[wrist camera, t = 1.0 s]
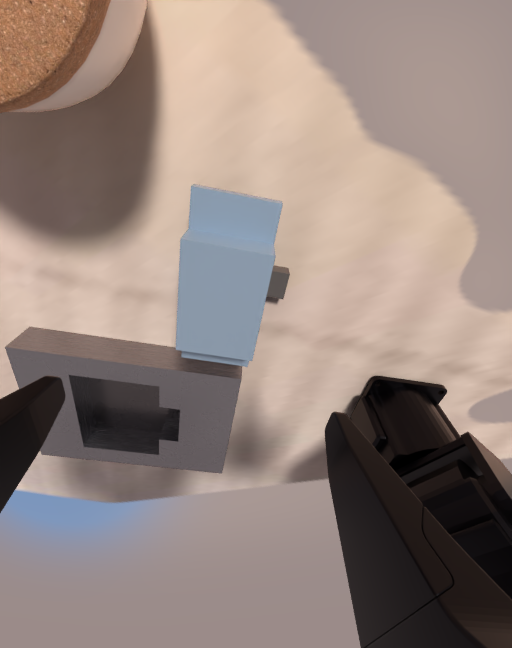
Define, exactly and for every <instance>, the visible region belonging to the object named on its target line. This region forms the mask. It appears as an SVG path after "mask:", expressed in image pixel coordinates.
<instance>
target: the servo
mask: <svg viewBox="0 0 512 648" xmlns="http://www.w3.org/2000/svg"><path fill="white" fill-rule="evenodd" d="M281 209H282V201H277V200H272V199H267V198H262V197H257V196H252V195H247V194H242V193H237V192H232V191H226V190H221V189H216V188H211V187H206V186H201V185H196V184H193V185H192V186H191V198H190V215H189V229H188V230H187V231H186V233H185V234H184V235H183V236H182V238H181V241H180V264H179V287H178V310H177V333H176V350H180V351H182V354H181V357H184V358H190V359H197V360H204V361H211V362H218V363H225V364H232V365H239V366H245V367H248V362H249V361H252V359H253V355H254V350H255V346H256V341H257V337H258V332H259V328H260V323H261V319H262V314H263V310H264V305H265V301H266V296H267V297H273V298H279V299H283V298H284V294H285V290H286V286H287V283H288V279H289V275H290V273H289V269H288V268H285V267H279V266H273V265H274V260H275V249H274V241H275V237H276V232H277V228H278V223H279V218H280V214H281Z"/></svg>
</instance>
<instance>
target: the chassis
mask: <svg viewBox="0 0 512 648" xmlns="http://www.w3.org/2000/svg"><path fill="white" fill-rule="evenodd" d="M5 349H6V352H7V355H8V357H9V360H10V363H11V366H12V369H13V372H14V375H15V378H16V381H17V384H18V387H19V389H21V388H22V387H24V386H26V385H28V384H30V383H32V382H34V381H36V380H38V379H40V378H42V377H44V376H47V375H49V376H57V377H60V378H61V379H62V382H63V386H64V390H65V395H66V396H65V401H64V404H63V406H62V408H61V410H60V412H59V414H58V416H57V418H56V420H55V422H54V424H53V426H52V428H51V430H50V432H49V434H48V436H47V438H46V440H45V442H44V444H43V446H42V447H41V449H40V451H41V454H42V455H51V456H61V457H70V458H80V459H89V460H99V461H108V462H118V463H127V464H137V465H146V466H156V467H166V468H175V469H185V470H194V471H204V472H213V473H222V470H223V465H224V461H225V456H226V451H227V446H228V441H229V436H230V432H231V427H232V422H233V417H234V412H235V407H236V403H237V398H238V393H239V388H240V383H241V376H242V366H239V365H232V364H225V363H218V362H211V361H204V360H197V359H190V358H184V357H181V354H182V351H180V350H176V348H174V347H167V346H160V345H153V344H146V343H139V342H132V341H125V340H118V339H111V338H104V337H97V336H90V335H83V334H76V333H69V332H62V331H55V330H48V329H41V328H34V327H29V328H28V329H26V330H25V331H24V332H23V333H21V334H20V335H19V336H18V337H17V338H15V339H14V340H13V341H12V342H11V343H9V344H8V345H7V346H6V347H5Z"/></svg>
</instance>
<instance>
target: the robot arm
mask: <svg viewBox="0 0 512 648" xmlns="http://www.w3.org/2000/svg"><path fill="white" fill-rule="evenodd" d="M376 382H377V383H376ZM446 393H447V390H446V388H445V387H444V386H443V385H439V384H432V383H425V382H418V381H411V380H404V379H397V378H390V377H383V376H375V377H373V378H372V379H371V380H370V382H369V384H368V386H367V388H366V390H365V392H364V394H363V396H362V397H361V398H360V400H359V402H358V404H357V406H356V408H355V410H354V411H353V413H352V415H351V419H350V418H349V417H348V416H347V415H346V414H345V413H340V412H333V413H332V414H331V416H330V418H329V421H328V423H327V425H326V428H325V442H326V454H327V466H328V477H329V483H330V488H331V493H332V499H333V504H334V509H335V514H336V519H337V525H338V530H339V536H340V541H341V546H342V551H343V557H344V562H345V567H346V572H347V577H348V582H349V588H350V593H351V599H352V604H353V609H354V614H355V620H356V625H357V630H358V635H359V640H360V646H361V648H512V474H511V473H510V472H509V471H508V469H507V468H506V467H505V466H504V464H503V463H502V462H501V461H500V460H499V459H498V458H497V457H496V456H495V455H494V454H493V453H492V452H490V451H489V450H488V449H487V448H486V447H485V446H484V445H483V444H482V443H480V442H479V441H478V440H477V439H476V438H475V437H474V436H473V435H471V434H470V433H469V432H466V433H464V434H463V435H461V437H460V435H459V434H458V432H457V431H456V429H455V428H454V427H453V425H452V424H451V422H450V421H449V419H448V418H447V416H446V415H445V413H444V412H443V410H442V409H441V408H440V406H439V405H438V404H439V403H440V401H441V400H442V399H443V397H444V396H445V395H446ZM65 396H66V395H65V390H64V386H63V382H62V379H61V378H60V377H57V376H49V375H47V376H44V377H42V378H40V379H38V380H36V381H34V382H32V383H30V384H28V385H26V386H24V387H22V388H21V389H19V390H17V391H15V392H13V393H11V394H9V395H7V396H5V397H3V398H1V399H0V513H1V511H2V509H3V508H4V506H5V505H6V503H7V501H8V500H9V498H10V497H11V495H12V494H13V492H14V490H15V489H16V487H17V486H18V484H19V483H20V481H21V479H22V478H23V476H24V475H25V473H26V471H27V470H28V468H29V467H30V465H31V464H32V462H33V460H34V459H35V457H36V456H37V454H38V452H39V451H40V449H41V447H42V446H43V444H44V442H45V440H46V438H47V436H48V434H49V432H50V430H51V428H52V426H53V424H54V422H55V420H56V418H57V416H58V414H59V412H60V410H61V408H62V406H63V404H64V401H65Z"/></svg>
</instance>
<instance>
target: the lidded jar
mask: <svg viewBox="0 0 512 648" xmlns="http://www.w3.org/2000/svg"><path fill="white" fill-rule="evenodd" d="M146 7H147V0H0V113H2V112H44V111H51V110H56V109H62V108H67V107H71V106H73V105H76V104H78V103H80V102H83V101H85V100H87V99H89V98H92V97H94V96H96V95H97V94H98V93H100V92H101V91H103V90H104V89H105V88H107V87H108V86H109V85H110V84H111V83H112V82H113V81H114V80H115V79H116V77H117V76H118V75H119V74H120V73H121V72H122V70H123V69H124V67H125V65H126V64H127V62H128V60H129V59H130V57H131V55H132V53H133V51H134V48H135V46H136V43H137V41H138V38H139V35H140V33H141V29H142V25H143V20H144V16H145V11H146Z"/></svg>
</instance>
